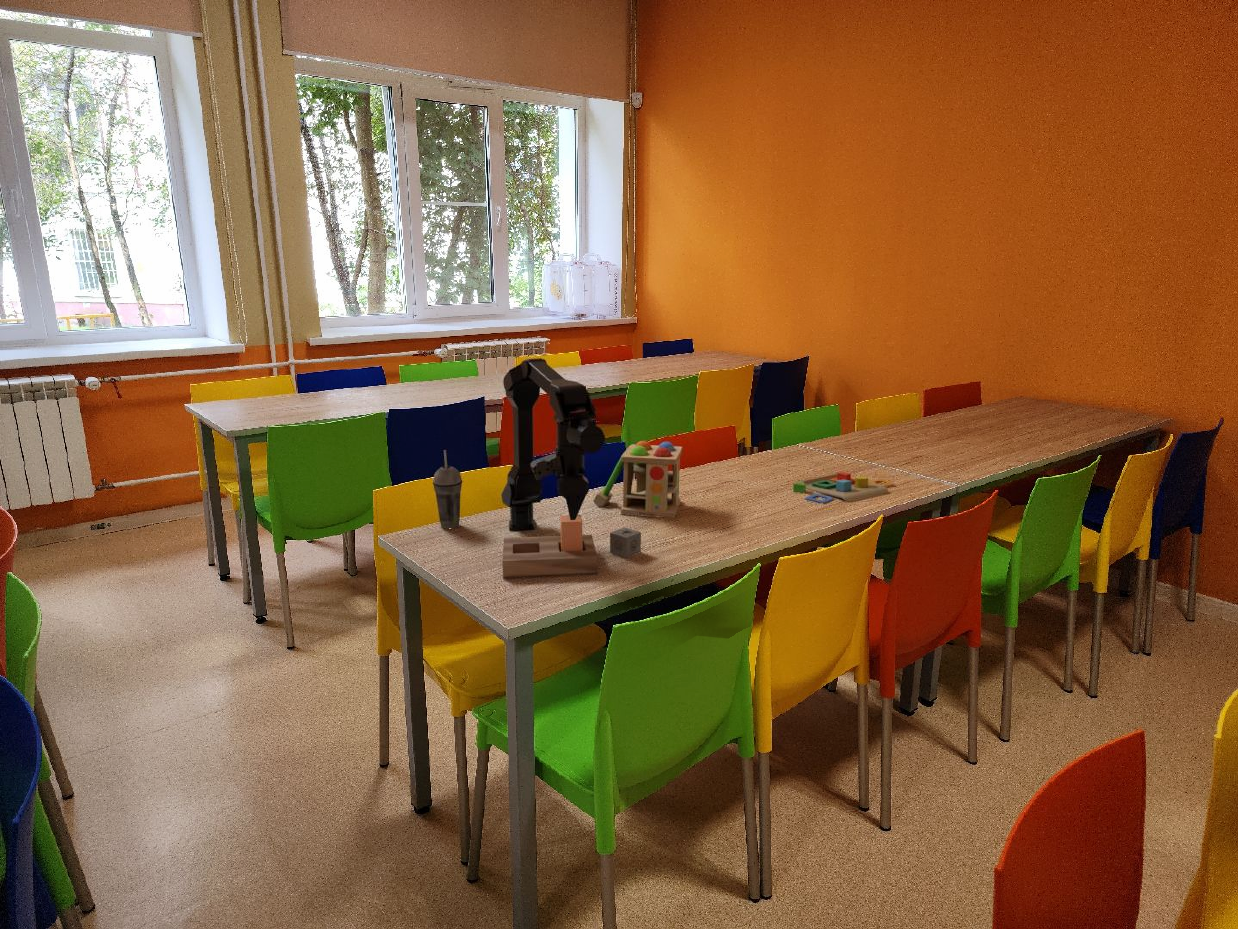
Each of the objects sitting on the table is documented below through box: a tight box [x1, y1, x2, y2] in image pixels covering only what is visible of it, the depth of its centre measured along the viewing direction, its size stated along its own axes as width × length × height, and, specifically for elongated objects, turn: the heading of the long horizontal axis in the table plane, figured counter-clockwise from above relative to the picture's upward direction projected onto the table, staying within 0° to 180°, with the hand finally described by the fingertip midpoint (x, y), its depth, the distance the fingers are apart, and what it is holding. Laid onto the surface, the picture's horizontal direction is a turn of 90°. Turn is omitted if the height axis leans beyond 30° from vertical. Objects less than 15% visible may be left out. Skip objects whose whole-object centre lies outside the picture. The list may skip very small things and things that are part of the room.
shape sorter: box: [792, 471, 896, 505], centre depth 231 cm, size 34×19×5 cm, turn 122°
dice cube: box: [609, 527, 642, 559], centre depth 182 cm, size 5×5×5 cm
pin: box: [560, 514, 583, 552], centre depth 175 cm, size 4×4×10 cm
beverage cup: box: [432, 449, 463, 530], centre depth 197 cm, size 7×7×20 cm
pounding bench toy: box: [593, 440, 683, 519], centre depth 213 cm, size 23×14×18 cm, turn 79°
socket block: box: [501, 534, 598, 580], centre depth 175 cm, size 14×20×4 cm
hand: (571, 513), depth 173 cm, fingers open, 9 cm apart
